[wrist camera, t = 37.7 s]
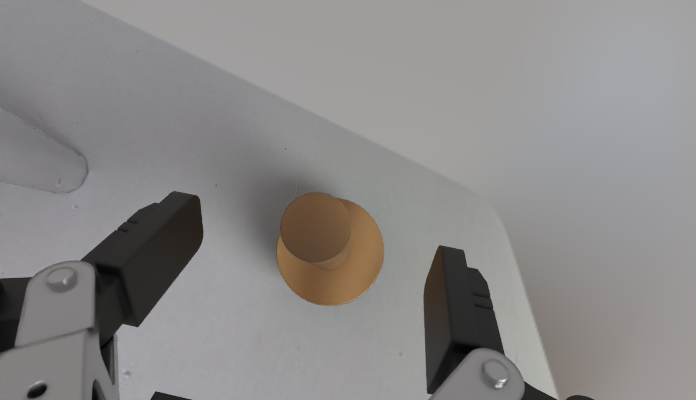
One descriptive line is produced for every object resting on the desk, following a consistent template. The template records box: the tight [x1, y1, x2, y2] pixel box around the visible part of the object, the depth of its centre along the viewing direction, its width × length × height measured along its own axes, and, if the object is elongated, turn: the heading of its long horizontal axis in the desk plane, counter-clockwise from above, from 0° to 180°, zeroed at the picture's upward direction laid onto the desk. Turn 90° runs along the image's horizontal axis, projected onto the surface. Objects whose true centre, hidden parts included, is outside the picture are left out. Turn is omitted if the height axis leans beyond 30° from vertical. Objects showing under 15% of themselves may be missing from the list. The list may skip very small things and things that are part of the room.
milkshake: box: [0, 106, 88, 193], centre depth 21 cm, size 4×5×10 cm
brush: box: [277, 193, 384, 306], centre depth 19 cm, size 6×6×13 cm
